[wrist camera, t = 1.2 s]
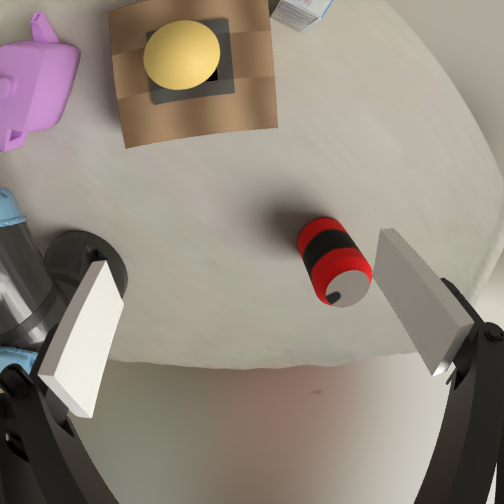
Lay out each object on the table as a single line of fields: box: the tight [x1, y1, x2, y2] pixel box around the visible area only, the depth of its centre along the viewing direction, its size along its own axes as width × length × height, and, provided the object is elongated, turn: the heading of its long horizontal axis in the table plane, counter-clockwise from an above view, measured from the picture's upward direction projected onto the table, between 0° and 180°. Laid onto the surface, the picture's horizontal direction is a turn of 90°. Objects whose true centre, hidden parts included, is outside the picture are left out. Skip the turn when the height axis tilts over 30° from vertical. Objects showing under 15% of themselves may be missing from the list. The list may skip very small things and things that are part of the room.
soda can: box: [298, 218, 372, 307], centre depth 39 cm, size 8×8×12 cm
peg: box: [143, 20, 220, 90], centre depth 22 cm, size 6×6×8 cm
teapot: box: [0, 12, 81, 152], centre depth 23 cm, size 18×10×10 cm, turn 154°
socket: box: [108, 0, 278, 149], centre depth 26 cm, size 16×16×8 cm
